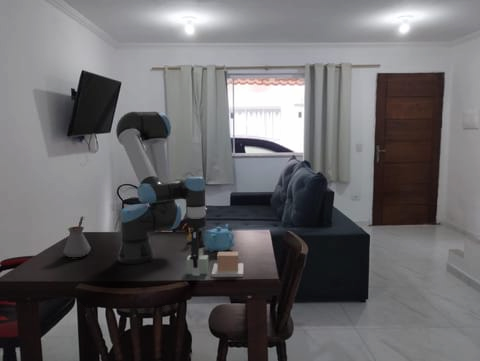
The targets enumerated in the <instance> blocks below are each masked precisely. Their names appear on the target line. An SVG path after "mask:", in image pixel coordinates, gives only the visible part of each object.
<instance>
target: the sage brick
mask: <svg viewBox="0 0 480 361" xmlns="http://www.w3.org/2000/svg"><path fill="white" fill-rule="evenodd" d="M194 256H196V255H194ZM190 257H191V254H189V255H187V258H186V260H185V261H186V275H192V259H190ZM199 267H200V275H208V274H209V273H208V272H209V255H208V254H207V255H206V254H205V255H204V254H203V255H199Z"/></svg>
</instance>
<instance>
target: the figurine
mask: <svg viewBox="0 0 480 361" xmlns="http://www.w3.org/2000/svg"><path fill="white" fill-rule="evenodd" d="M185 226H187V222H186V223H184V225H183V227H182V229H184V228H185ZM187 228H188V233H189V234H188V235H187V237H186V238H187V239H186V240H187V241H188V242H189V243H191V231H192V230H193V228H189V227H187Z"/></svg>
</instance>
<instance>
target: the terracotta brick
mask: <svg viewBox="0 0 480 361" xmlns="http://www.w3.org/2000/svg"><path fill="white" fill-rule="evenodd" d="M216 258H217V260H216V261H217V266H218V271H236V270H238V263H239V251H224V252H220V251H218V252H217V255H216Z"/></svg>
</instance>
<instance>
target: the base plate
mask: <svg viewBox="0 0 480 361" xmlns="http://www.w3.org/2000/svg"><path fill="white" fill-rule="evenodd" d="M231 277H232V278H235V277H236V278H238V277H239V278H242V277H244V263H243V262H240V263H239V262H238V270H236V271H218V266H217V263H214V264H213V266H212V271H211V278H231Z"/></svg>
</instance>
